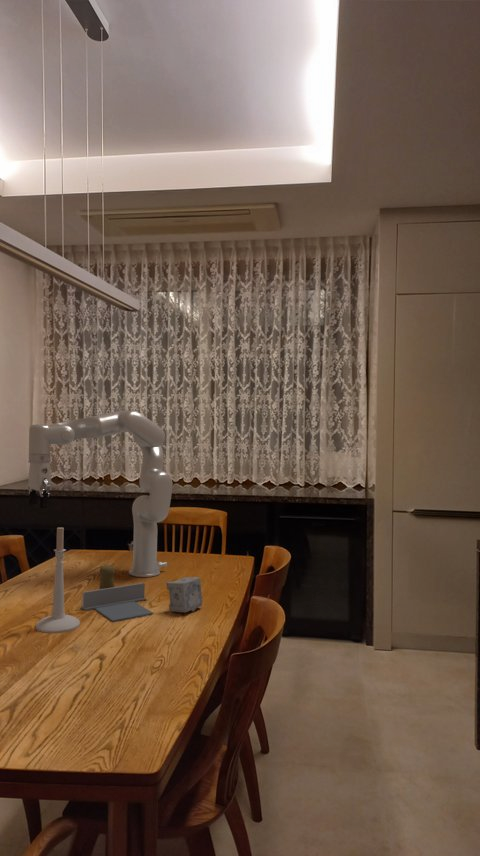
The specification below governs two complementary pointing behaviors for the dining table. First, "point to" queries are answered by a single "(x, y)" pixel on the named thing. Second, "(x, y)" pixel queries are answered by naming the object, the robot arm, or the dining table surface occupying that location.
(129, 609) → the slate mat
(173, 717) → the dining table surface
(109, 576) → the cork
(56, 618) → the candlestick
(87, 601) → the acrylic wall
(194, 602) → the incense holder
